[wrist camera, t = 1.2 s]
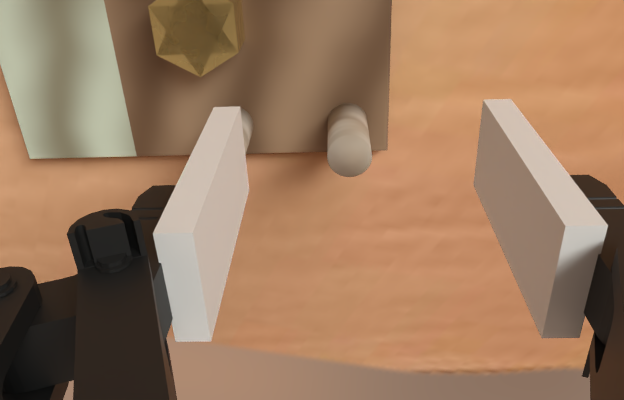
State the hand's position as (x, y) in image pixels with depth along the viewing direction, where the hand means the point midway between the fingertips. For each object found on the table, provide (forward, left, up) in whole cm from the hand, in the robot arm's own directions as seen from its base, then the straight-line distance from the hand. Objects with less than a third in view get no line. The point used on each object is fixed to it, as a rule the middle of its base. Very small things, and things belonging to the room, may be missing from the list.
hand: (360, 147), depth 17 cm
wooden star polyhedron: (-8, 0, -18) cm, 20 cm away
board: (-9, 0, -19) cm, 21 cm away
